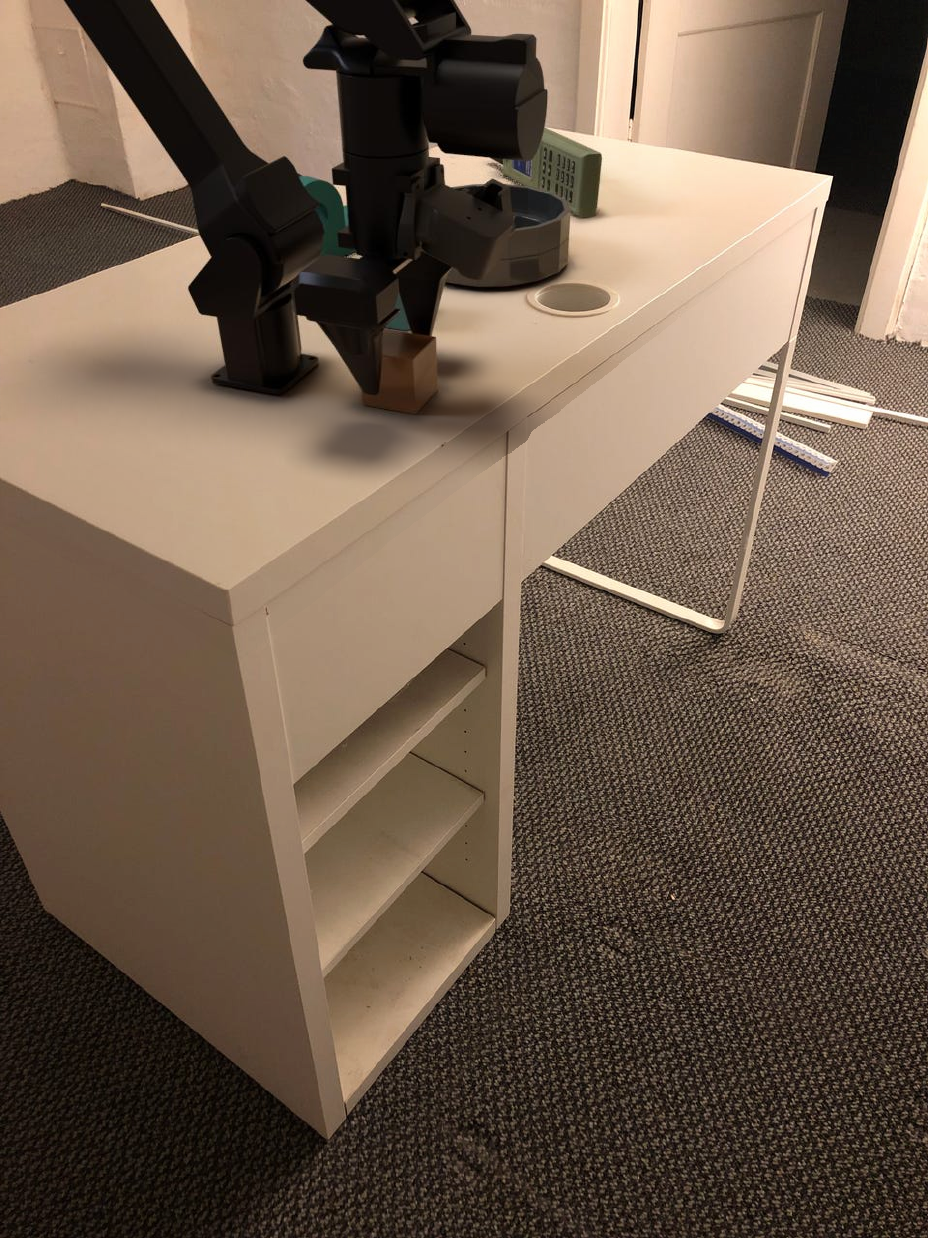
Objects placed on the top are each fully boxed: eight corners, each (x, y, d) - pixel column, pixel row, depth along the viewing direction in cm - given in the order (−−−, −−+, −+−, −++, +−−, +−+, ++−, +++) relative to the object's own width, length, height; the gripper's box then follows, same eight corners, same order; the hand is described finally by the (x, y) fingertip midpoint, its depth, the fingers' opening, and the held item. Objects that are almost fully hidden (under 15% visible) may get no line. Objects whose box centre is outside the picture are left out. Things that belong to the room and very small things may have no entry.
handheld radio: (575, 219, 110) (478, 164, 128) (600, 216, 111) (500, 161, 129) (581, 154, 106) (479, 106, 123) (607, 151, 107) (503, 104, 125)
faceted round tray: (538, 300, 92) (540, 239, 88) (389, 279, 96) (385, 221, 93) (585, 247, 103) (588, 191, 99) (449, 231, 107) (448, 177, 104)
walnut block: (415, 414, 75) (412, 359, 72) (362, 405, 76) (358, 350, 73) (438, 390, 78) (436, 336, 75) (387, 381, 79) (383, 328, 76)
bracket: (296, 272, 98) (286, 188, 93) (254, 256, 102) (243, 175, 97) (425, 227, 108) (422, 150, 103) (383, 214, 112) (378, 139, 107)
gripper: (442, 199, 56) (448, 443, 66) (546, 123, 70) (538, 336, 80) (272, 180, 60) (301, 415, 70) (402, 111, 73) (411, 317, 83)
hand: (398, 368), depth 75 cm, fingers open, 9 cm apart
